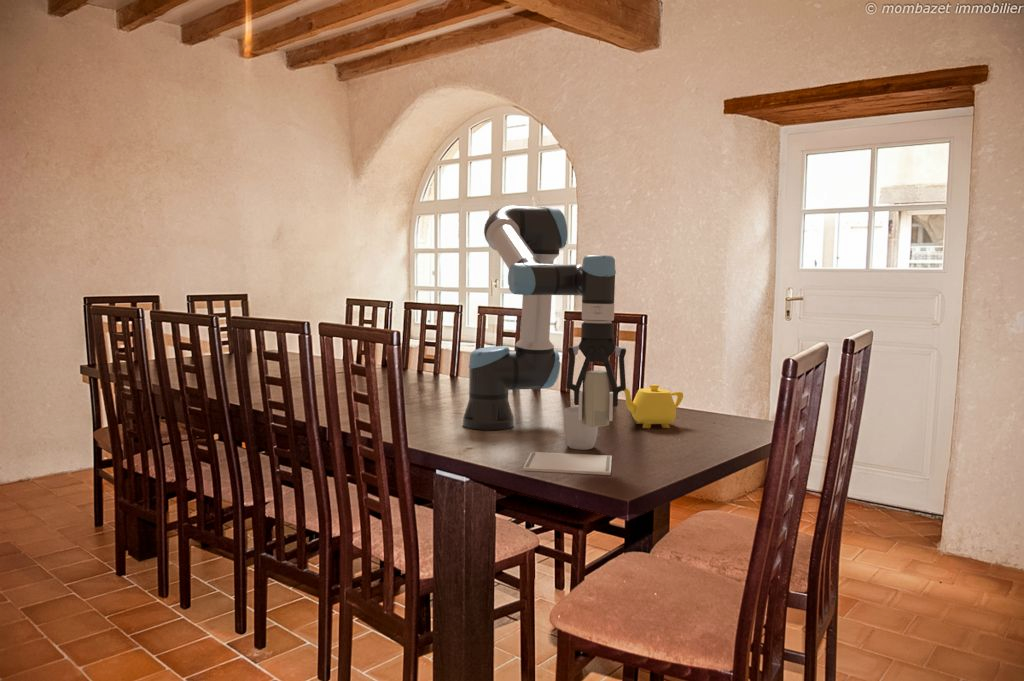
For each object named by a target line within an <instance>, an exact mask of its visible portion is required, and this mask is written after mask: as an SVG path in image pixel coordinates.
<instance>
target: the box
mask: <svg viewBox="0 0 1024 681" xmlns="http://www.w3.org/2000/svg"><path fill="white" fill-rule="evenodd" d="M610 386H611V384H610V381H609V378H608V374H607V371H606V370H600V369H597V370H587V371H586V373H585V376H584V379H583V381H582V391H583V394H582V424H583V425H586V426H589V427H598V428H599V427H606V426H610V421H609V402H610V392H611V390H610Z"/></svg>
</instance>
